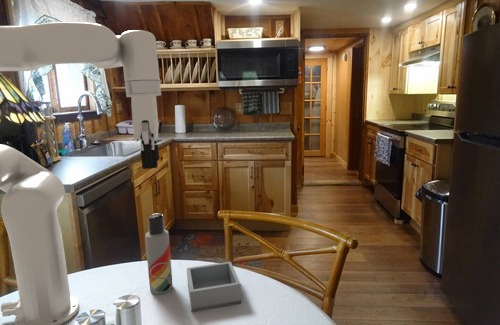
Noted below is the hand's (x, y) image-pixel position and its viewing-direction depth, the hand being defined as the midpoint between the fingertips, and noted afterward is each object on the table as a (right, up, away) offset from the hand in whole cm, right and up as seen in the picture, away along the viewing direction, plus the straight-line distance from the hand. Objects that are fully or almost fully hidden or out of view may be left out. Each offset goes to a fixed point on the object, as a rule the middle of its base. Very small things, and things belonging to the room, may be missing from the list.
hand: (151, 164), depth 78 cm
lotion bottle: (0, -32, +8) cm, 33 cm away
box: (+14, -32, +5) cm, 36 cm away
